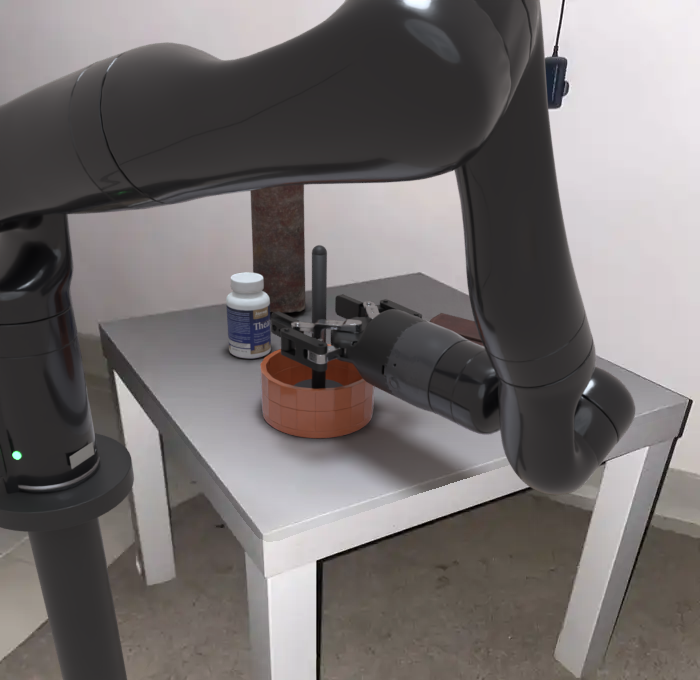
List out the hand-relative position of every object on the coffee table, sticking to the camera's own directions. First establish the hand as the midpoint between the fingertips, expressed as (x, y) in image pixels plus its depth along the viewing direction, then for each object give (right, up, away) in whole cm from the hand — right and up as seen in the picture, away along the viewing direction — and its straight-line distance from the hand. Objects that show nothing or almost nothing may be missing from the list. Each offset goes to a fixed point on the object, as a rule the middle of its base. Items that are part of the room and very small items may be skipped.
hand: (306, 312), depth 81 cm
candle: (-6, +6, +31) cm, 32 cm away
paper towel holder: (+1, -9, +4) cm, 10 cm away
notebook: (+21, -3, +18) cm, 28 cm away
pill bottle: (-8, -2, +18) cm, 20 cm away
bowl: (+1, -10, +5) cm, 11 cm away
